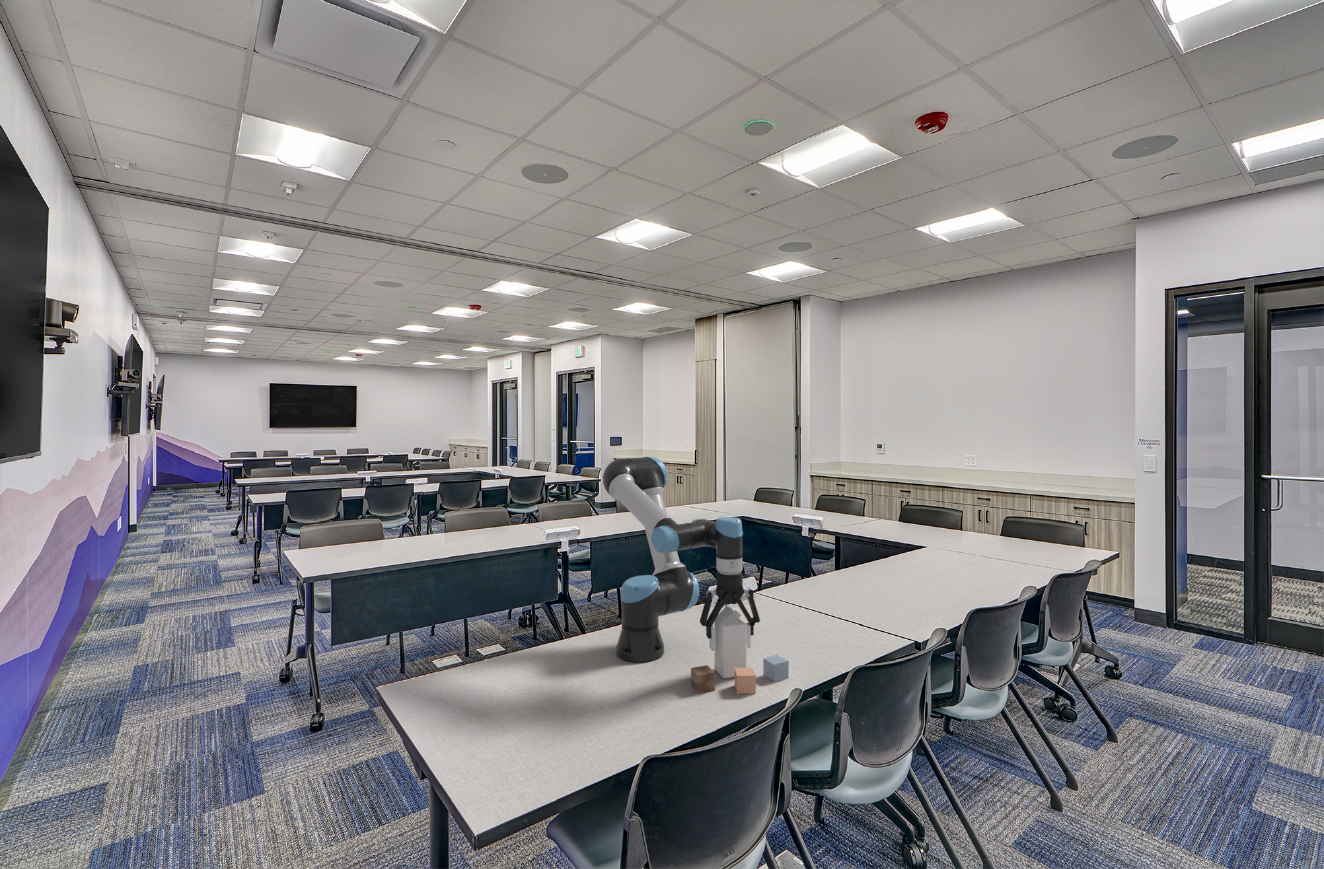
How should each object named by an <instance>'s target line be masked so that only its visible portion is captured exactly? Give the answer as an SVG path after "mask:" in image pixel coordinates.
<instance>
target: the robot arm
mask: <svg viewBox="0 0 1324 869" xmlns="http://www.w3.org/2000/svg"><path fill="white" fill-rule="evenodd" d="M668 477H669V476H668V470H667V467H666V466H665V464H664V463H663V462H662V460H660V459H659V458H658V457H653V456H643V457H626V458H625V457H623V458H620V457H619V458H617V459H613V460H612V461H611V462H609V464H608V465H606V467H605V469H604V471H603V475H602V485H603V488H604V490H605V491H606V493H608V495H609V496H610V497H611V498H612V499H614V500H617V501H619V502H620V503H621V504H622V506H624V507H625V508H626V509H627V510H628V511H629V512H630V513H631V514H632V515H633V516H634V518H636V520H637V521H639V523H640V524H641V525H642V526H643V527H644V531H645V534H646V538H647V543H648V545H649V550H650V554H651V557H652V560H653V561H652V562H653V565H654V568H655V569H654V571H653V573H652V575H651V574H644V575H642V574H641V575H635V576H633V577H629V578H628V579H626V580H625V581H624V582H623V584H622V585H621V593H620V600H621V602H620V603H621V608H620V609H621V629H620V633H619V638H618V640H617V644H616V656H617V657H618V658H619V659H620V660H623V661H627V662H632V663H646V662H647V663H648V662H651V661H655V660H659V659H660V658H662V657H663V656H664V654H665V644H664V640H663V637H662V635H661V631H660V628H659V617H662V616H663V617H664V616H667V615H670V614H675V613H679V612H684V611H686V610H688V609H689V610H690V609H691V608H693V607H695V606H696V604H697V602H698V599H699V595H700V586H699V581H698V579H697V577H696V576H695V574H693V573H692V572H690V571H688V570H687V566H686V565H685V564H684V563H682V562H681V561H680V558H679V555H678V554H679V553H678V552H679V551H685V550H691V549H696V548H702V547H709V548H713V549H716V553H715V554H716V556H715V557H716V559H715V560H716V571H717V572H716V587H715V589H714V590H708V589H707V590H705V601H704V604H703V607H702V612H701V615H700V618H699V623H700V625H701V626H702V627H704V628H705V632H706V633H705V636H706V637H707V639H709V648H710V650H711V651H712V652H715V639H714V626H713V624H714V621H715V620H716V618H717V616H718V614H719V613H720V612H721V611H722V610H723V609H724V607H725V605H728V606H729V605H736V604H737V606H738V607H739V609H740V611H741V612H742V614H743V615H744V618H745V619H746V621H747V622H744V623H745V624H746V648H748V649H751V643H752V642H751V636H754V634H755V632H754V631H755V628H754V626H755V625H756V623H760V622H761V618H760V615H759V611H758V609H757V605H756V602H755V599H754V595H755V594H754V593H755V592H754V590H753V589H752V588H751V587H748V588H744V587H743V586H744V585H743V581H744V580H743V579H744V578H743V577H744V576H743V574H744V573H743V572H742V571H743V535H744V532H743V525H742V520H741V519H740V518H739V517H733V516H732V517H731V516H724V517H723V516H722V517H718V518H717V519H716V521H712V520H709V519H706V518H701V519H700V518H695V519H693V520H692V521H691V522H685V523H677V522H676V521H675V520H674V519H673V518H672V517H670V515H668V512H667V509H666V506H665V502H664V498H663V494H664V492H665V487H666V486H667V483H668ZM744 594H745V596H746V599H747V601H748V603H749V604H748V605H749V608H750V611H751V614H752V617H751V615H750V613H749V611H748V609H747V607H746V606H745V605H744V603H743V601H742V599H741V598H742V596H743V595H744ZM715 596H717V600H716V602H715V605H714V607H713V608H712V610H711V611H710V609H711V606H712V604H713V603H712V602H713V599H714V598H715ZM722 608H723V609H722ZM709 613H710V614H709Z"/></svg>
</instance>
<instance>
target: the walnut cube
mask: <svg viewBox="0 0 1324 869" xmlns="http://www.w3.org/2000/svg"><path fill="white" fill-rule="evenodd" d="M690 686H691V687H692V688H693V690H694V691H695V692H696V693H697V694H704V693H709V692H713V691H716V672H715V671H714V670H713V669H712V668H711V667H710V666H709V664H708V665H707V664H706V665H701V666H700V665H699V666H695V667H691V668H690Z"/></svg>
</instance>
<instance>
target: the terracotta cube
mask: <svg viewBox="0 0 1324 869" xmlns="http://www.w3.org/2000/svg"><path fill="white" fill-rule="evenodd" d="M755 673H756V672H755V670H754V668H753V667H746V668H734V677H733V680H734V684H733V686H734V688H735V691H737V692H736V694H737V695H739V694H738V693H756V694H757V690H756V689H757V687H756V686H757V681H756V679H757V675H756V674H755Z"/></svg>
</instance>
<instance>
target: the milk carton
mask: <svg viewBox="0 0 1324 869" xmlns="http://www.w3.org/2000/svg"><path fill="white" fill-rule="evenodd" d="M741 616H742V614H741V613H740V612H739V611H737V610H734V609H733V608H732V607H730V606H729V604H728V605H725V604H724V607H723V609H721V610H720V612H719V614H718V616H717V618H716V620H715V621H714V623H713V624H714V626H713V627H714V670H715V671H716V672H717V673H718V674H719V676H720V677H721V678H722V679H730V678H734V668H747V646H746V624H745V623H746V622H744V621H743V620H742V619H741V618H740V617H741Z"/></svg>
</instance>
